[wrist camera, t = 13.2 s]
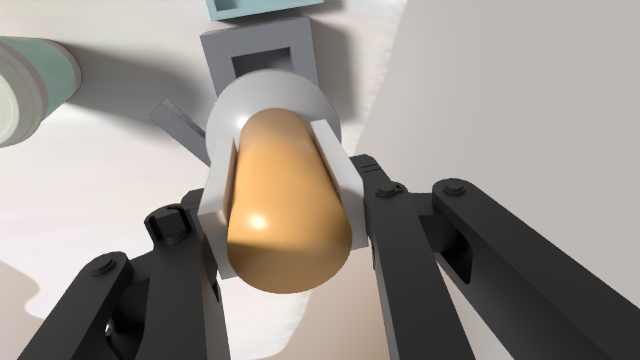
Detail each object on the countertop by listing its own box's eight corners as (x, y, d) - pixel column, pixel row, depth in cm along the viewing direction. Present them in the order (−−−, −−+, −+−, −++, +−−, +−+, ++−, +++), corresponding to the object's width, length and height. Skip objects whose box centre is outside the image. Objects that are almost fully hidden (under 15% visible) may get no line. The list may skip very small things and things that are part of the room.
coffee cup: (64, 11, 32) (-30, 14, 21) (113, 98, 36) (54, 136, 25) (-26, 37, 32) (-166, 53, 21) (34, 121, 36) (-58, 170, 25)
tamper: (204, 66, 21) (122, 159, 8) (316, 50, 22) (405, 112, 9) (231, 167, 25) (203, 349, 12) (327, 151, 25) (404, 305, 12)
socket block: (198, 33, 34) (190, 37, 30) (302, 15, 35) (309, 17, 31) (241, 181, 43) (240, 202, 38) (325, 164, 44) (332, 182, 39)
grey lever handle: (164, 99, 37) (140, 124, 29) (187, 76, 36) (168, 96, 28) (309, 225, 47) (320, 268, 40) (329, 209, 47) (343, 250, 39)
